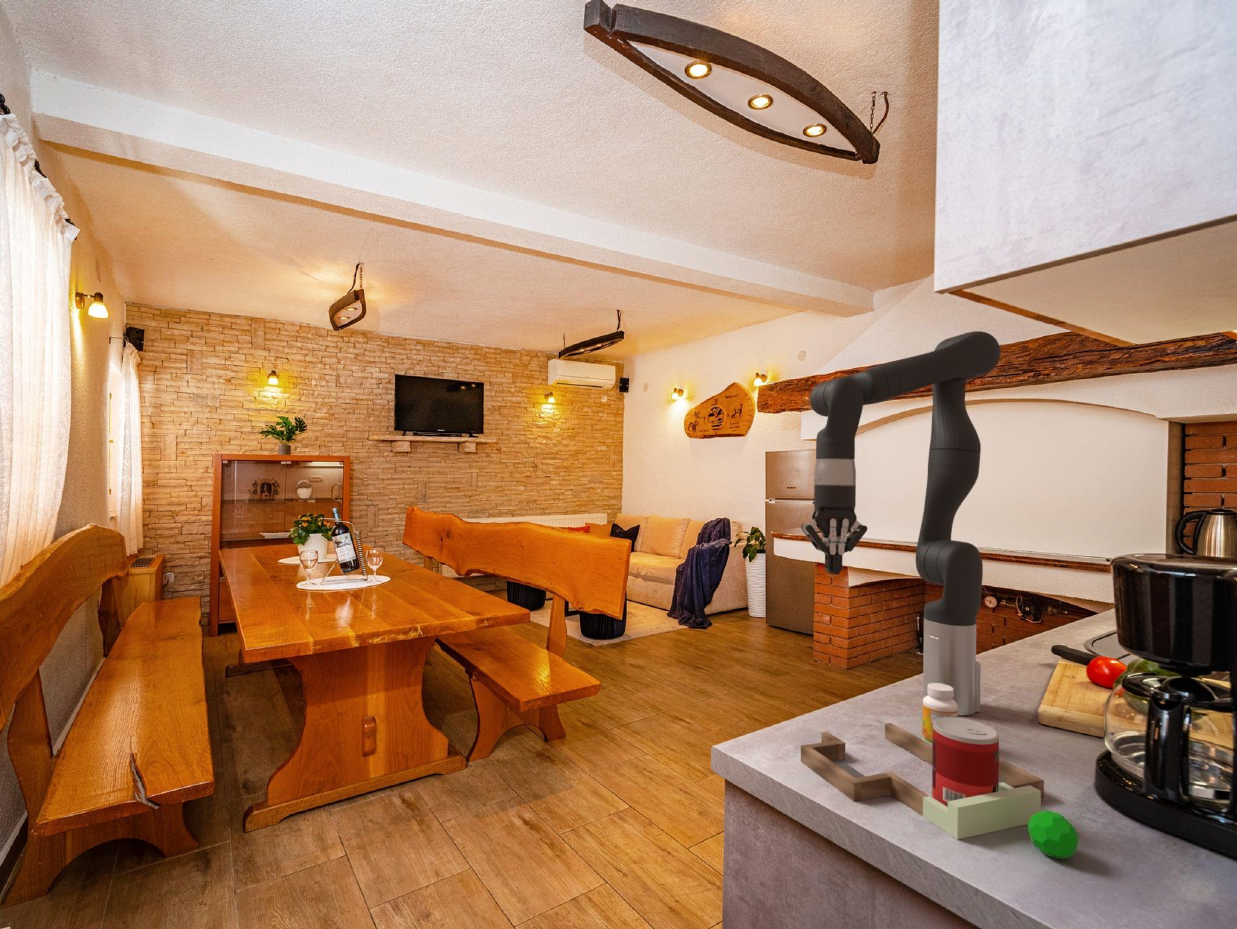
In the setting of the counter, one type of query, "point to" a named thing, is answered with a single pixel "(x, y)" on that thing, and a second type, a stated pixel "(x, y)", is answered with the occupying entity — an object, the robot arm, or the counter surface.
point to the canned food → (963, 759)
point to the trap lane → (889, 782)
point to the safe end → (984, 811)
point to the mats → (858, 774)
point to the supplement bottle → (937, 707)
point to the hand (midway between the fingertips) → (833, 573)
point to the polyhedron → (1053, 834)
